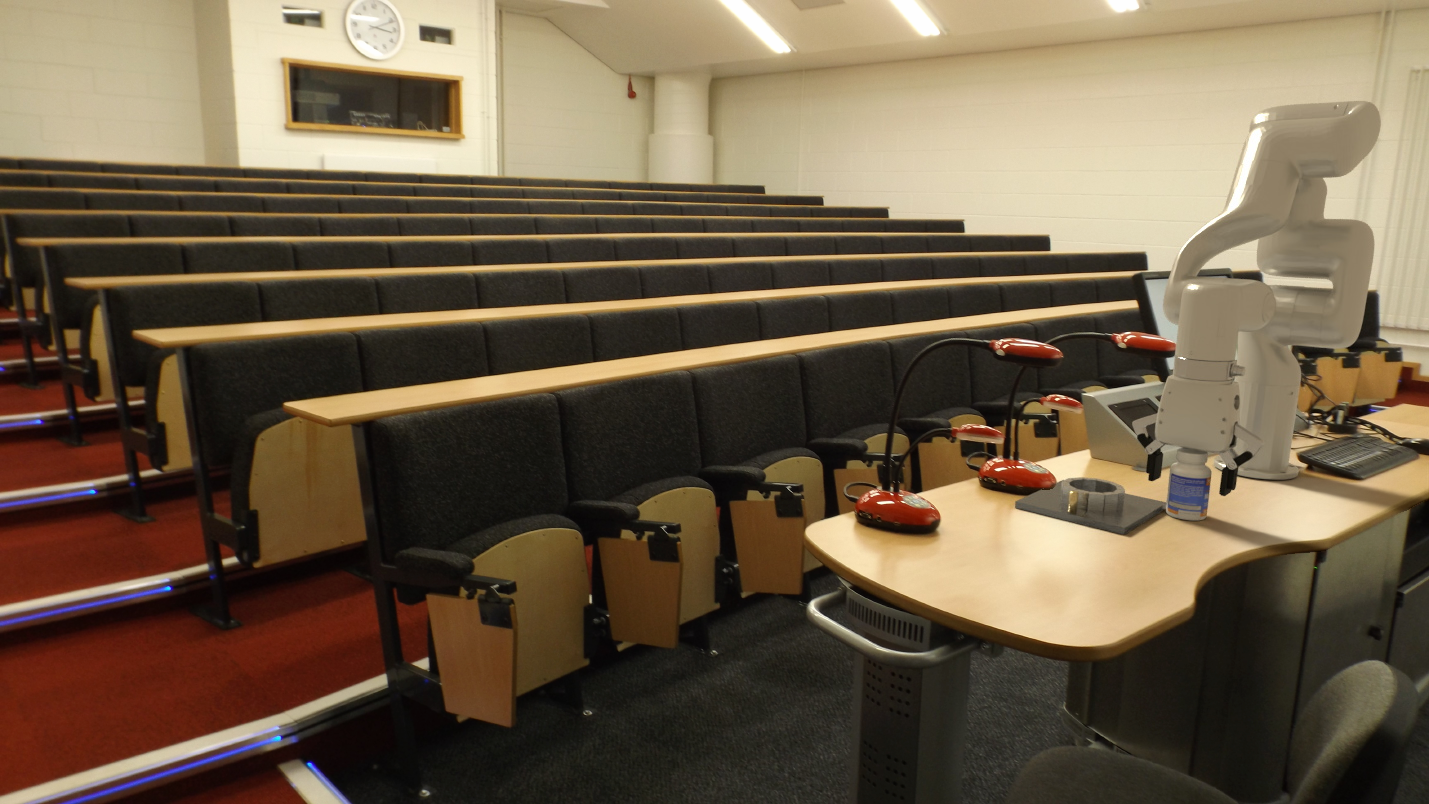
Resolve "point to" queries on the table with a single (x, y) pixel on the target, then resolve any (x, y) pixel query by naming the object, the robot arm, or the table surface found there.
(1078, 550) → the table surface
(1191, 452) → the pill bottle
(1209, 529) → the table surface
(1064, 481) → the flange base
